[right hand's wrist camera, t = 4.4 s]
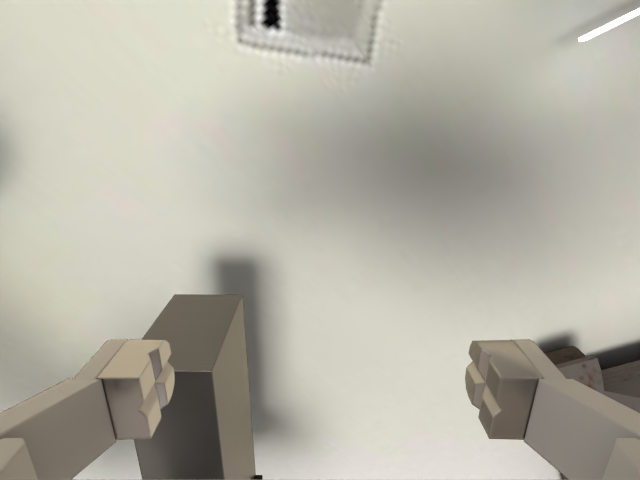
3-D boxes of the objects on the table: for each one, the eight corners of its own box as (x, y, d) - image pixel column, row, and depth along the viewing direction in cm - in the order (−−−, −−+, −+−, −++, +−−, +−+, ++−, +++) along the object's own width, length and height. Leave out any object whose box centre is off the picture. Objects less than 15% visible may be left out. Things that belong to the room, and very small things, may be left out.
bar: (174, 294, 32) (118, 370, 23) (242, 294, 32) (212, 370, 23) (204, 507, 41) (172, 620, 32) (258, 507, 41) (240, 621, 32)
